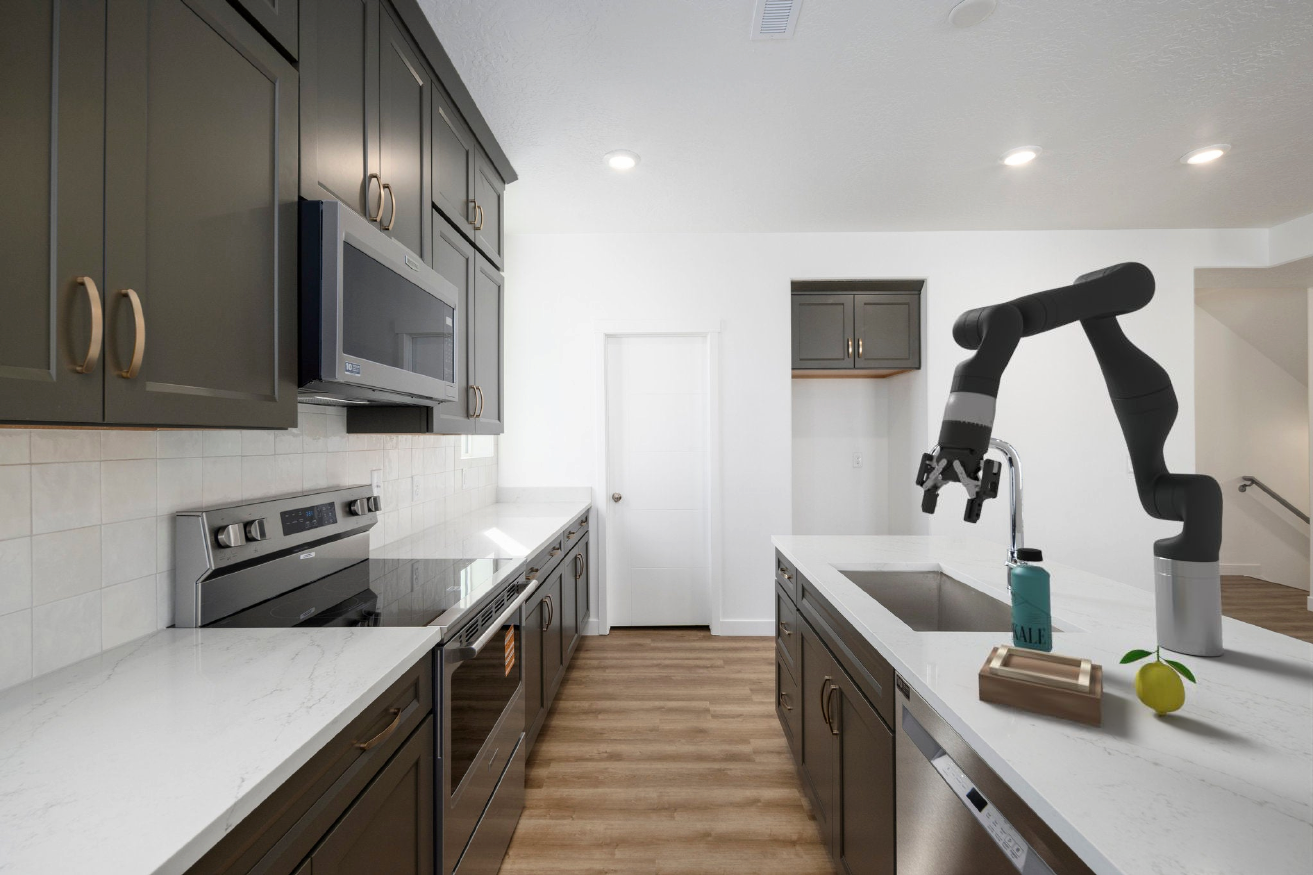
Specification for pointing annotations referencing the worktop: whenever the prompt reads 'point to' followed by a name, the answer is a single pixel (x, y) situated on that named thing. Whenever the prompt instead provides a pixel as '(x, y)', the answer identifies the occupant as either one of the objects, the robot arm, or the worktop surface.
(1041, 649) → the beverage bottle
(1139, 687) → the lemon
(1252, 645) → the worktop surface
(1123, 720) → the worktop surface
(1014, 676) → the stand
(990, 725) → the worktop surface
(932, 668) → the worktop surface
